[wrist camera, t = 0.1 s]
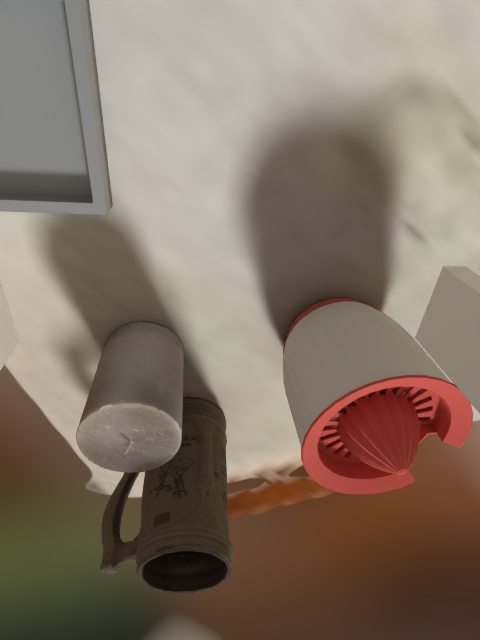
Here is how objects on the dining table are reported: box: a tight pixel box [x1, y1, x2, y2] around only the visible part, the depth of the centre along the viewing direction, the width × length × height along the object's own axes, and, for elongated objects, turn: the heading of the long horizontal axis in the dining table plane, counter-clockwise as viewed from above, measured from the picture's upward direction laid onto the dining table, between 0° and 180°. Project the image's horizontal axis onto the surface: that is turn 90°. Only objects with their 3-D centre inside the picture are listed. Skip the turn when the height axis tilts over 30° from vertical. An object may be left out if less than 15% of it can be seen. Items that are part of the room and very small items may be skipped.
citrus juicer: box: [283, 298, 473, 494], centre depth 39 cm, size 16×17×20 cm
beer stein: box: [100, 398, 233, 593], centre depth 46 cm, size 15×11×20 cm
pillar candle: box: [76, 322, 184, 473], centre depth 40 cm, size 10×10×15 cm
